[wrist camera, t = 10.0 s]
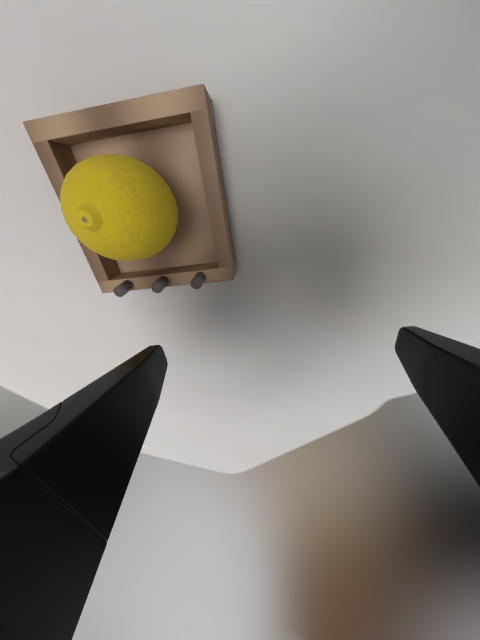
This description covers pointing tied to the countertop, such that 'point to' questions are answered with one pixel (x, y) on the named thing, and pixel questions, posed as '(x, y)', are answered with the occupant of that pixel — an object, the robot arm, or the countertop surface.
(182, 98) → the tray
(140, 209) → the lemon
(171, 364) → the countertop surface
